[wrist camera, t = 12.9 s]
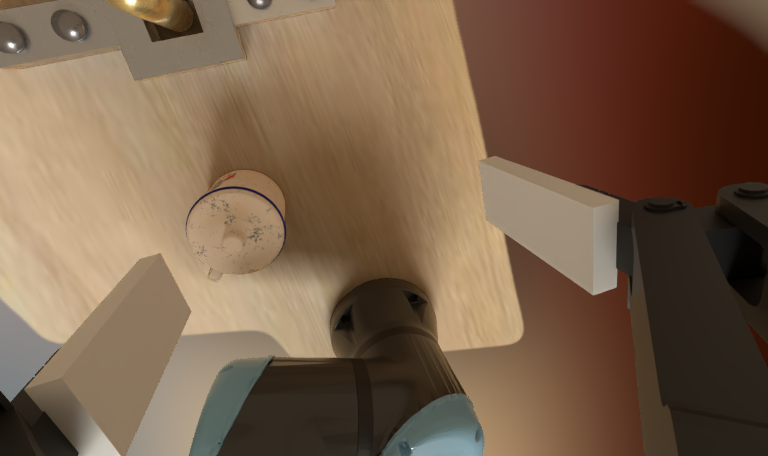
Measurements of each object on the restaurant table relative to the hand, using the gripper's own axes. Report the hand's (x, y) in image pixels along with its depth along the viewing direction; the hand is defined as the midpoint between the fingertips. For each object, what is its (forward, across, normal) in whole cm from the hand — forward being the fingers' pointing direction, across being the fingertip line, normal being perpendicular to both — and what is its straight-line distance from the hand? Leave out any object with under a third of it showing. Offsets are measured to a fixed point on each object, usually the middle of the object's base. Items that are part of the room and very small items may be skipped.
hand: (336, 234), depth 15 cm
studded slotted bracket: (+30, +9, -14) cm, 34 cm away
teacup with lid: (+30, +10, +7) cm, 33 cm away
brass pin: (+30, +9, -14) cm, 34 cm away
